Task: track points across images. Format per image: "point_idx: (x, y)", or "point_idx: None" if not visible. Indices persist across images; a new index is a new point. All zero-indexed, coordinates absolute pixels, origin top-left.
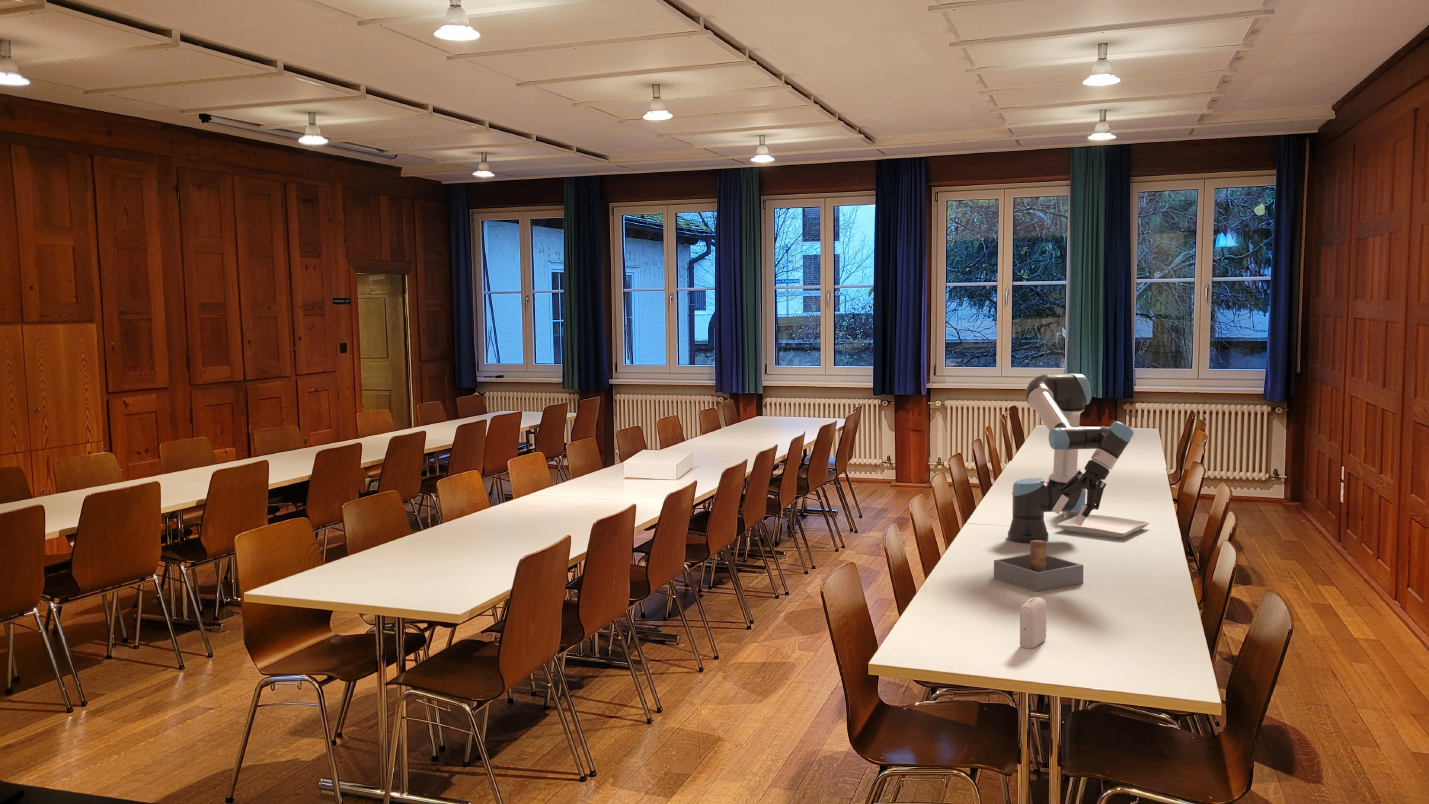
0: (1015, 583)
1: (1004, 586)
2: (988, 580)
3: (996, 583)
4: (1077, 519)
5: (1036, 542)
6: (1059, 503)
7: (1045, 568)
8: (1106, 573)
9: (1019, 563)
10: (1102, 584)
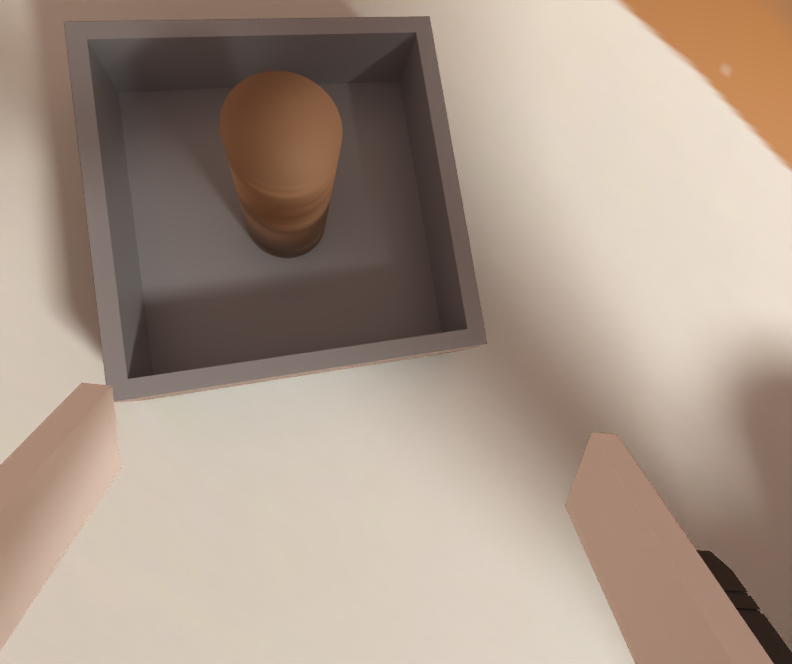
0: None
1: None
2: None
3: None
4: (52, 420)
5: (268, 99)
6: (639, 542)
7: (246, 220)
8: (251, 644)
9: (431, 197)
10: None
